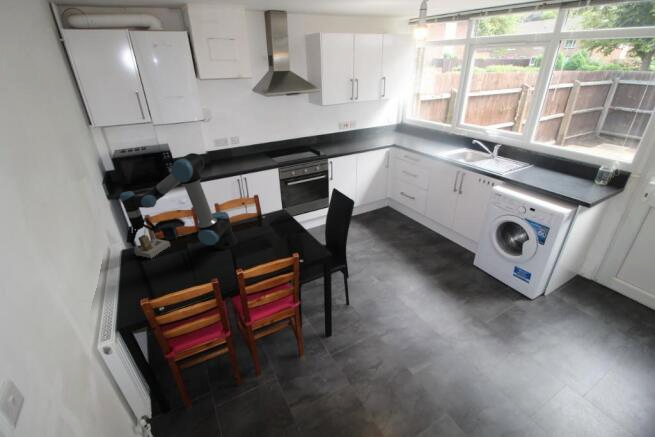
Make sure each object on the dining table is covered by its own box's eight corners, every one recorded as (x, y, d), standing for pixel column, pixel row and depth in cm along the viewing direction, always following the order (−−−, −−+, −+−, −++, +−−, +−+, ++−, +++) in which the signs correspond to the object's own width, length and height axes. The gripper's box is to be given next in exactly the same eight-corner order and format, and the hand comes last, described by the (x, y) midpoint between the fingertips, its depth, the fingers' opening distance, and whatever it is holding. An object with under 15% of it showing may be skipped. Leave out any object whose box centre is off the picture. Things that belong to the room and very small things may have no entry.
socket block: (170, 246, 220) (168, 241, 218) (151, 259, 207) (149, 253, 205) (155, 243, 225) (153, 238, 223) (136, 255, 212) (134, 250, 210)
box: (178, 235, 233) (174, 222, 228) (176, 239, 228) (172, 226, 223) (167, 236, 232) (163, 224, 227) (165, 240, 227) (160, 227, 222)
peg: (153, 251, 213) (147, 235, 208) (148, 254, 210) (142, 238, 205) (149, 250, 215) (143, 234, 209) (144, 253, 212) (138, 238, 206)
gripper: (147, 206, 211) (157, 234, 221) (112, 224, 191) (125, 253, 201) (155, 207, 209) (165, 235, 218) (121, 225, 188) (133, 255, 198)
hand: (145, 244), depth 210 cm, fingers open, 13 cm apart
